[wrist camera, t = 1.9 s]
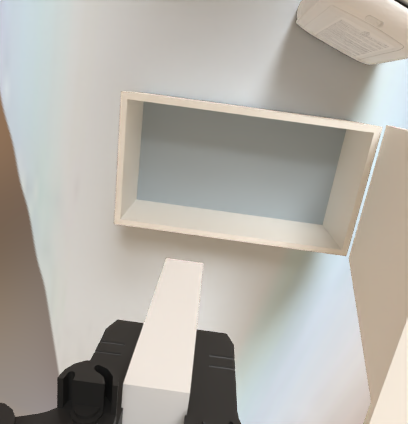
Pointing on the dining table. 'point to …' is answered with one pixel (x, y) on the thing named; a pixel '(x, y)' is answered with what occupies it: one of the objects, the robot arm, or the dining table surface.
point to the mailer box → (241, 172)
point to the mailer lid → (384, 281)
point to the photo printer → (359, 27)
